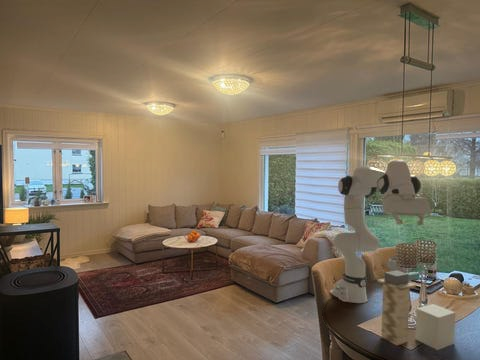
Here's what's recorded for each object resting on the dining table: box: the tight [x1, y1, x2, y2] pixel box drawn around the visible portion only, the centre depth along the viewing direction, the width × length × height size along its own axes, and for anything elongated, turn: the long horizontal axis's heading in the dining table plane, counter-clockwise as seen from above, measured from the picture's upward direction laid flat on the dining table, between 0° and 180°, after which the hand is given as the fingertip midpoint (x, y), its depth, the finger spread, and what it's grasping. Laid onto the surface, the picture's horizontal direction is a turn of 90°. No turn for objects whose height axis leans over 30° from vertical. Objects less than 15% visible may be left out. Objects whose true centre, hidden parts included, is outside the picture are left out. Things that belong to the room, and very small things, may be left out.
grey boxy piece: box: [384, 270, 420, 285], centre depth 149 cm, size 6×18×4 cm, turn 117°
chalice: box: [387, 257, 403, 272], centre depth 226 cm, size 14×14×15 cm
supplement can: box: [427, 257, 438, 279], centre depth 239 cm, size 8×8×15 cm
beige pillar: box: [377, 277, 417, 346], centre depth 147 cm, size 12×10×26 cm
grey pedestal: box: [415, 303, 456, 351], centre depth 146 cm, size 10×12×14 cm
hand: (410, 224), depth 136 cm, fingers open, 8 cm apart
